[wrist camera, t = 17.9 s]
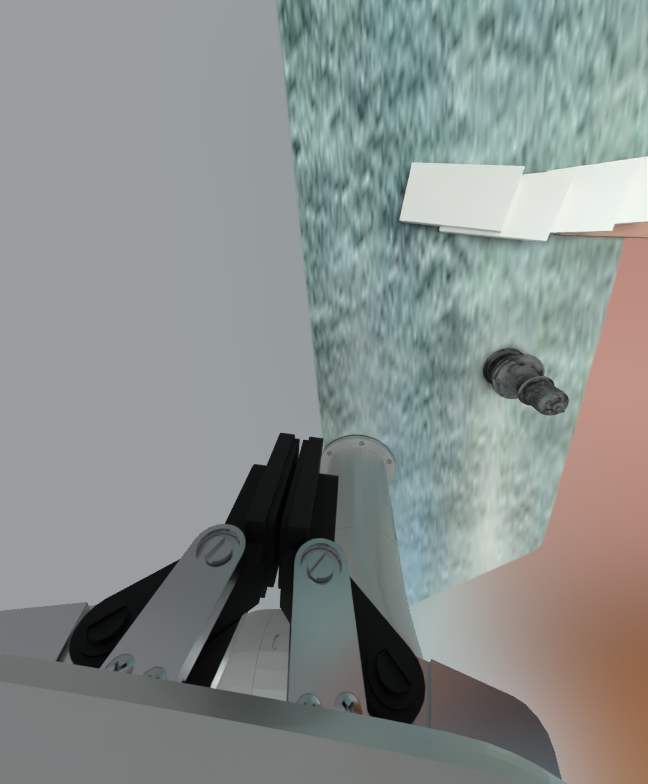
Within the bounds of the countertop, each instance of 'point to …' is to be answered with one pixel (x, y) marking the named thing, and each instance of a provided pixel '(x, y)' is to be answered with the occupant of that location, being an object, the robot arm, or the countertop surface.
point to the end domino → (618, 231)
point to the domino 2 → (528, 210)
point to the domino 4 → (630, 191)
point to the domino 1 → (460, 195)
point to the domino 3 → (592, 198)
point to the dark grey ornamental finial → (524, 381)
